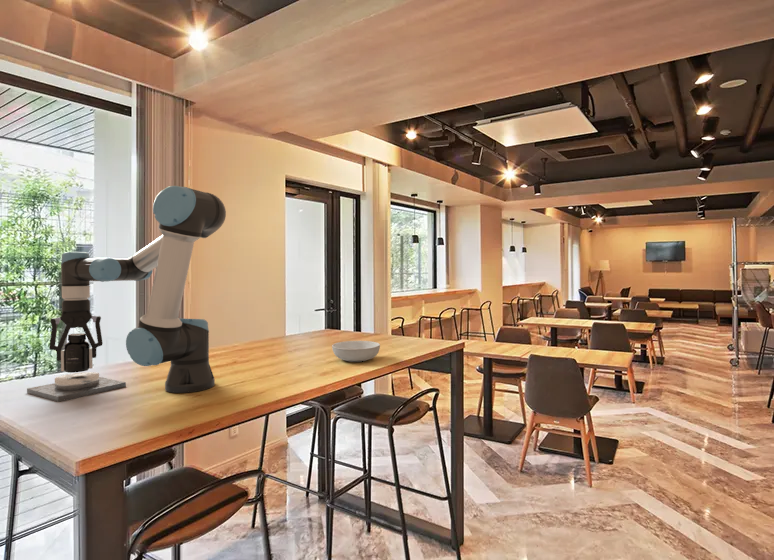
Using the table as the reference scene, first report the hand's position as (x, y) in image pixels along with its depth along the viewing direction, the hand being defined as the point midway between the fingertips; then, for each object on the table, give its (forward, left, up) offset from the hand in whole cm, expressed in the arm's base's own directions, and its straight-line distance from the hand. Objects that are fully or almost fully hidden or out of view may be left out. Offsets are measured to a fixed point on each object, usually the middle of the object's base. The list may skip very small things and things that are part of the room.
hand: (77, 369), depth 146 cm
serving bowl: (-53, -85, -7) cm, 101 cm away
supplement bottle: (0, 0, -1) cm, 1 cm away
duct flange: (0, 0, -7) cm, 7 cm away
